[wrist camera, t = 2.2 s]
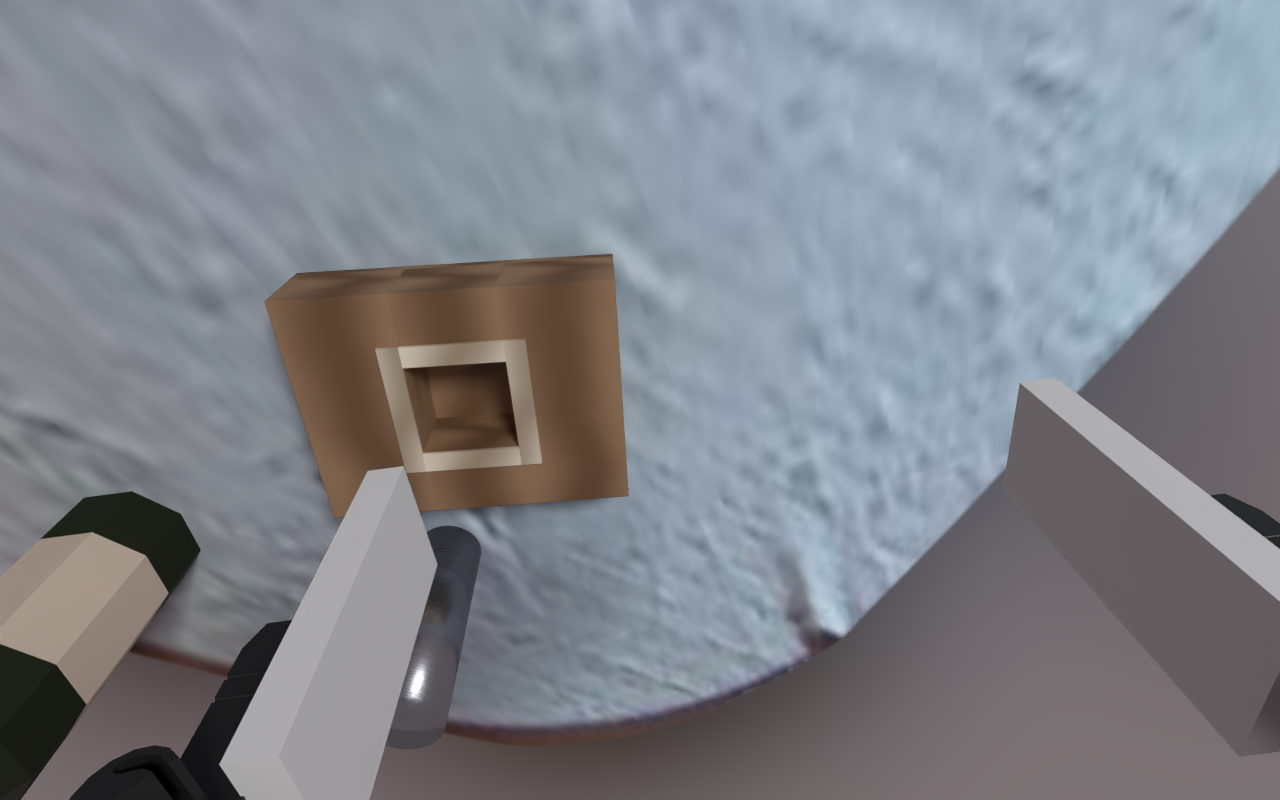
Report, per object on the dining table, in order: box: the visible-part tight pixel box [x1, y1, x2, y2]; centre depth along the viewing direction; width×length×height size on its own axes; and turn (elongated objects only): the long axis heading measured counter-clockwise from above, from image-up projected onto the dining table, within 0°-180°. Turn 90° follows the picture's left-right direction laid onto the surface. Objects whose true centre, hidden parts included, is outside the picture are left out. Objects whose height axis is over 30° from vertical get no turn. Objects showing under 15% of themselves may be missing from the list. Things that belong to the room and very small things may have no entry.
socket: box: [264, 254, 628, 518], centre depth 41 cm, size 18×14×5 cm
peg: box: [385, 526, 481, 749], centre depth 44 cm, size 4×4×14 cm
